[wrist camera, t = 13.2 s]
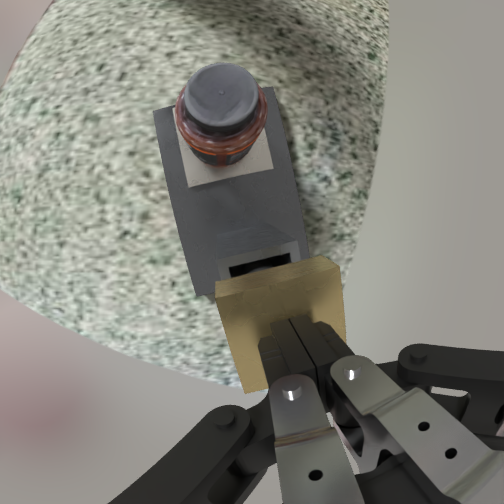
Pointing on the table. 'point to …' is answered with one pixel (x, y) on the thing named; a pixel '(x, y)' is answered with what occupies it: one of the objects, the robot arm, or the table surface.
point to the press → (233, 202)
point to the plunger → (275, 307)
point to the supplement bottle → (221, 113)
